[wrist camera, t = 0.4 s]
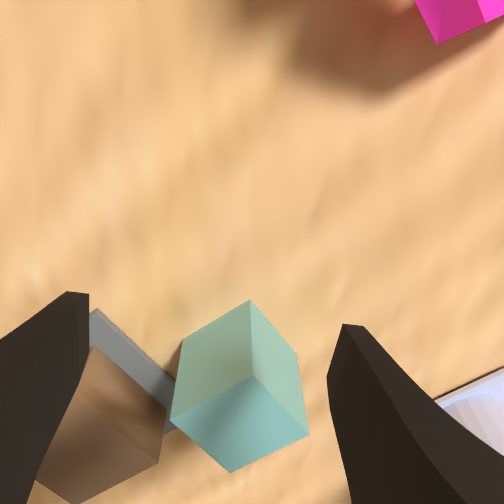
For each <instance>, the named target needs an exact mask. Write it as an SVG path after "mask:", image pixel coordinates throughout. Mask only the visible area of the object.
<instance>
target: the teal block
mask: <svg viewBox="0 0 504 504" xmlns="http://www.w3.org/2000/svg"><path fill="white" fill-rule="evenodd" d="M170 421H171V422H172V423H173V424H174V425H175V426H177V427H178V428H179V429H180V430H181V431H182V432H183V433H185V434H186V435H187V436H188V437H189V438H190V439H191V440H193V441H194V442H195V443H196V444H197V445H198V446H199V447H201V448H202V449H203V450H204V451H205V452H206V453H207V454H209V455H210V456H211V457H212V458H213V459H214V460H215V461H217V462H218V463H219V464H220V465H221V466H222V467H223V468H225V469H226V470H227V471H228V472H229V473H232V472H234V471H236V470H238V469H240V468H242V467H244V466H246V465H248V464H250V463H252V462H254V461H256V460H258V459H260V458H262V457H264V456H267V455H269V454H271V453H273V452H275V451H277V450H279V449H281V448H283V447H285V446H287V445H289V444H291V443H293V442H295V441H297V440H299V439H302V438H304V437H306V436H308V435H310V434H309V428H308V422H307V416H306V410H305V404H304V397H303V391H302V385H301V379H300V373H299V366H298V360H297V354H296V352H295V351H294V350H293V349H292V347H291V346H290V345H289V344H288V343H287V342H286V340H285V339H284V338H283V337H282V336H281V335H280V333H279V332H278V331H277V330H276V329H275V328H274V326H273V325H272V324H271V323H270V322H269V321H268V320H267V318H266V317H265V316H264V315H263V314H262V313H261V311H260V310H259V309H258V308H257V307H256V306H255V304H254V303H253V302H252V301H251V300H248V301H246V302H245V303H243V304H241V305H240V306H238V307H236V308H235V309H233V310H231V311H230V312H228V313H226V314H225V315H223V316H221V317H220V318H218V319H216V320H215V321H213V322H211V323H210V324H208V325H206V326H205V327H203V328H201V329H199V330H198V331H196V332H194V333H193V334H191V335H189V336H188V337H186V338H184V339H183V341H182V348H181V354H180V360H179V366H178V372H177V378H176V384H175V390H174V396H173V402H172V408H171V415H170Z"/></svg>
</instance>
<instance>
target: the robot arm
mask: <svg viewBox="0 0 504 504" xmlns="http://www.w3.org/2000/svg"><path fill="white" fill-rule="evenodd" d="M89 352H90V345H89V294H85V293H77V292H68V291H66V292H65V293H63V294H62V295H61V296H59V297H58V298H57V299H55V300H54V301H53V302H51V303H50V304H49V305H47V306H46V307H45V308H43V309H42V310H41V311H39V312H38V313H37V314H35V315H34V316H33V317H31V318H30V319H29V320H27V321H26V322H24V323H23V324H22V325H20V326H19V327H17V328H16V329H15V330H13V331H12V332H10V333H9V334H8V335H6V336H4V337H3V338H1V339H0V504H26V503H27V500H28V497H29V495H30V492H31V489H32V486H33V484H34V481H35V478H36V475H37V473H38V470H39V468H40V465H41V463H42V461H43V458H44V456H45V454H46V452H47V450H48V448H49V446H50V444H51V441H52V439H53V437H54V435H55V433H56V431H57V429H58V427H59V425H60V423H61V421H62V419H63V417H64V415H65V412H66V410H67V408H68V406H69V404H70V402H71V400H72V398H73V396H74V394H75V391H76V389H77V387H78V385H79V382H80V379H81V376H82V374H83V371H84V368H85V364H86V361H87V358H88V355H89ZM327 388H328V397H329V406H330V411H331V416H332V420H333V424H334V428H335V433H336V437H337V441H338V445H339V449H340V453H341V457H342V461H343V465H344V469H345V473H346V477H347V481H348V486H349V491H350V496H351V502H352V504H504V368H502V369H500V370H498V371H496V372H494V373H492V374H490V375H488V376H485V377H483V378H481V379H479V380H477V381H475V382H473V383H471V384H468V385H466V386H464V387H462V388H460V389H458V390H456V391H454V392H451V393H449V394H447V395H445V396H443V397H441V398H439V399H437V400H433V399H431V398H430V397H429V396H428V395H427V394H426V393H425V392H424V391H423V390H422V389H421V388H420V387H419V386H418V385H417V384H416V383H415V382H414V381H413V380H412V379H411V378H410V377H409V376H408V375H407V374H406V373H405V372H404V370H403V369H402V368H401V367H400V366H399V365H398V364H397V363H396V362H395V361H394V360H393V358H392V357H391V356H390V355H389V354H388V353H387V352H386V351H385V350H384V348H383V347H382V346H381V345H380V344H379V343H378V342H377V340H376V339H375V338H374V337H373V336H372V335H371V334H370V333H369V332H368V331H367V329H366V328H365V327H364V326H358V325H350V324H343V325H342V328H341V331H340V334H339V338H338V341H337V344H336V347H335V351H334V354H333V357H332V360H331V364H330V367H329V370H328V373H327Z"/></svg>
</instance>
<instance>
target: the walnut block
mask: <svg viewBox="0 0 504 504" xmlns="http://www.w3.org/2000/svg"><path fill="white" fill-rule="evenodd" d="M166 414H167V409H166V408H165V407H164V406H163V405H162V404H161V403H160V402H159V401H157V400H156V399H155V398H154V397H153V396H152V395H151V394H150V393H148V392H147V391H146V390H145V389H144V388H143V387H142V386H140V385H139V384H138V383H137V382H136V381H135V380H134V379H133V378H131V377H130V376H129V375H128V374H127V373H126V372H125V371H124V370H122V369H121V368H120V367H119V366H118V365H117V364H116V363H115V362H113V361H112V360H111V359H110V358H109V357H108V356H107V355H106V354H104V353H103V352H102V351H101V350H100V349H99V348H98V347H97V346H95V345H94V346H92V347H90V352H89V355H88V358H87V361H86V364H85V368H84V371H83V374H82V376H81V379H80V382H79V385H78V387H77V389H76V391H75V394H74V396H73V398H72V400H71V402H70V404H69V406H68V408H67V410H66V412H65V415H64V417H63V419H62V421H61V423H60V425H59V427H58V429H57V431H56V433H55V435H54V437H53V439H52V441H51V444H50V446H49V448H48V450H47V452H46V454H45V456H44V458H43V461H42V463H41V465H40V468H39V470H38V473H37V475H36V478H35V480H37V481H38V482H40V483H41V484H43V485H44V486H46V487H47V488H48V489H50V490H51V491H53V492H54V493H56V494H57V495H59V496H60V497H62V498H63V499H65V500H66V501H68V502H69V503H71V504H80V503H82V502H84V501H86V500H88V499H90V498H92V497H93V496H95V495H97V494H99V493H101V492H103V491H105V490H107V489H109V488H111V487H113V486H115V485H117V484H119V483H120V482H122V481H124V480H126V479H128V478H130V477H132V476H134V475H136V474H138V473H140V472H142V471H144V470H146V469H148V468H149V467H151V466H153V465H155V464H157V463H158V460H159V454H160V449H161V443H162V437H163V431H164V426H165V420H166Z"/></svg>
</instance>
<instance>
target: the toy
mask: <svg viewBox="0 0 504 504" xmlns="http://www.w3.org/2000/svg"><path fill="white" fill-rule="evenodd" d="M414 1H415V3H416V5H417V7H418V9H419V11H420V13H421V15H422V16H423V18H424V20H425V22H426V24H427V26H428V28H429V30H430V32H431V34H432V36H433V38H434V40H435V42H436V44H437V45H438V44H441V43H443V42H445V41H447V40H449V39H452V38H454V37H456V36H458V35H460V34H463V33H465V32H467V31H469V30H472V29H474V28H476V27H478V26H480V25H483V24H485V23H487V22H489V21H491V20H493V19H495V18H497V17H499V16H502V15H504V0H414Z"/></svg>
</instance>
